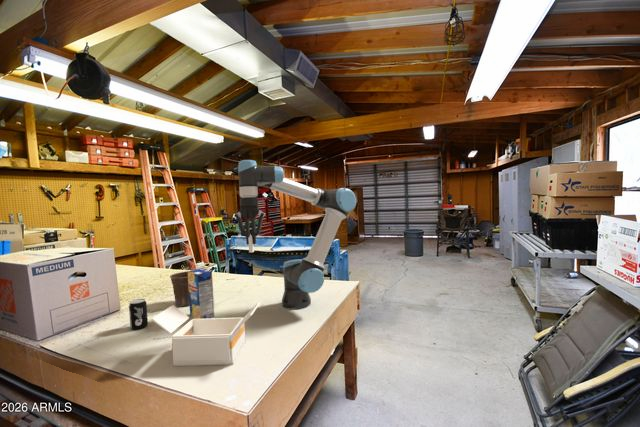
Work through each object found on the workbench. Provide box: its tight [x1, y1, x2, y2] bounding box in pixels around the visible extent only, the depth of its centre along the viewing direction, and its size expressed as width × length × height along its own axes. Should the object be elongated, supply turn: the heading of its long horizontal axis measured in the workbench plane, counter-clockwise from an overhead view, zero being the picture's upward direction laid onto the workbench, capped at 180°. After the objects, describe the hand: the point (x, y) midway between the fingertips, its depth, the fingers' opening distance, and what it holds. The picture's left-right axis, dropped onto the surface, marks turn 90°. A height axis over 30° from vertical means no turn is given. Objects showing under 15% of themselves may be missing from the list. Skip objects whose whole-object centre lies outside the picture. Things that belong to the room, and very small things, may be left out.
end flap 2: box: [234, 301, 261, 332], centre depth 99 cm, size 1×12×8 cm
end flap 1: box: [150, 304, 190, 335], centre depth 100 cm, size 1×12×8 cm
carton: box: [171, 316, 246, 367], centre depth 100 cm, size 20×16×10 cm
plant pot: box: [169, 270, 190, 307], centre depth 154 cm, size 16×16×16 cm
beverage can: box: [128, 298, 149, 331], centre depth 125 cm, size 7×7×12 cm
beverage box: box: [187, 268, 215, 319], centre depth 134 cm, size 7×11×22 cm, turn 48°
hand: (251, 251), depth 120 cm, fingers closed
